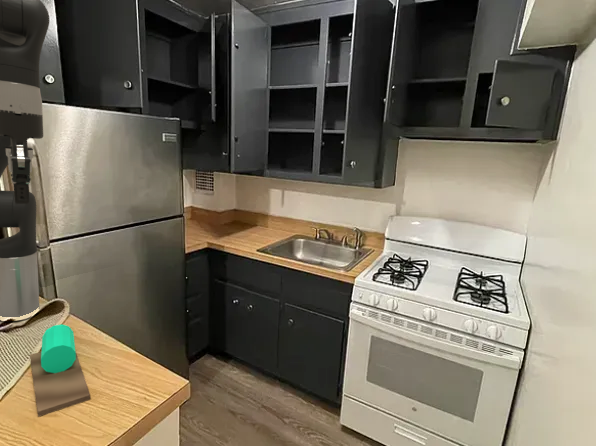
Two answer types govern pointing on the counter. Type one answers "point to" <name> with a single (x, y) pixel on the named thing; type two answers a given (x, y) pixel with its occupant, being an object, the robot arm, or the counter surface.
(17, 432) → the counter surface
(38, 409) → the board
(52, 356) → the candle
